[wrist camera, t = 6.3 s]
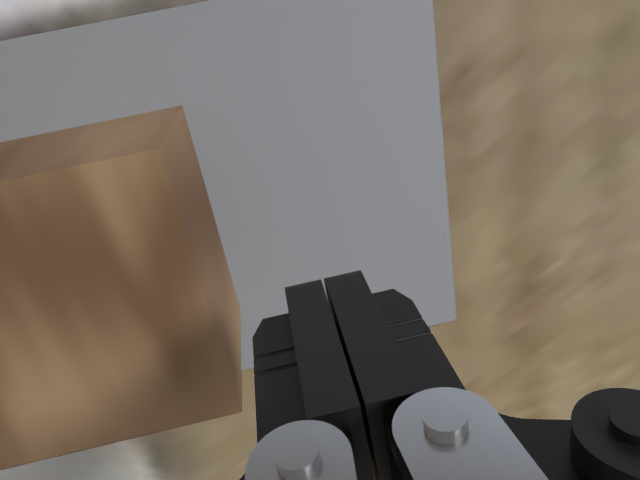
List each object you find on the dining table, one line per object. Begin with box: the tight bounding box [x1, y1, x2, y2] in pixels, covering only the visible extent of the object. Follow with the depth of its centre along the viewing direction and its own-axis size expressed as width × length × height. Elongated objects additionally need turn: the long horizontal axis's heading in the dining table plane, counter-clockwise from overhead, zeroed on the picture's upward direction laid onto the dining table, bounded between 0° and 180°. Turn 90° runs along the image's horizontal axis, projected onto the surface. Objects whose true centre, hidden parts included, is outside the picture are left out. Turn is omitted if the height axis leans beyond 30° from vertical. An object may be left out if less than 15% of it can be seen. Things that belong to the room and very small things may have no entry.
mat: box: [0, 0, 457, 371], centre depth 16 cm, size 12×22×1 cm, turn 100°
